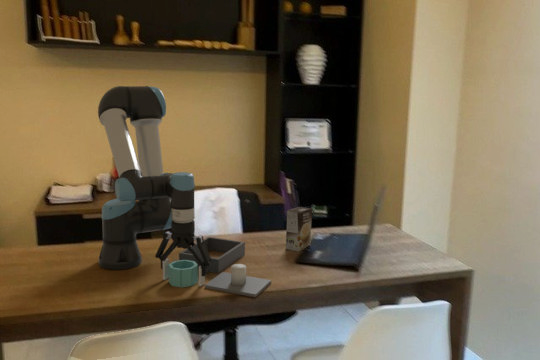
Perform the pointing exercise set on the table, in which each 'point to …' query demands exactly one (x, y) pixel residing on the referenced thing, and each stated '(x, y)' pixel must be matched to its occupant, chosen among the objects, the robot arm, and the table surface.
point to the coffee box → (298, 228)
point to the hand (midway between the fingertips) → (183, 281)
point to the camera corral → (223, 245)
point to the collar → (183, 273)
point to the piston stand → (238, 282)
